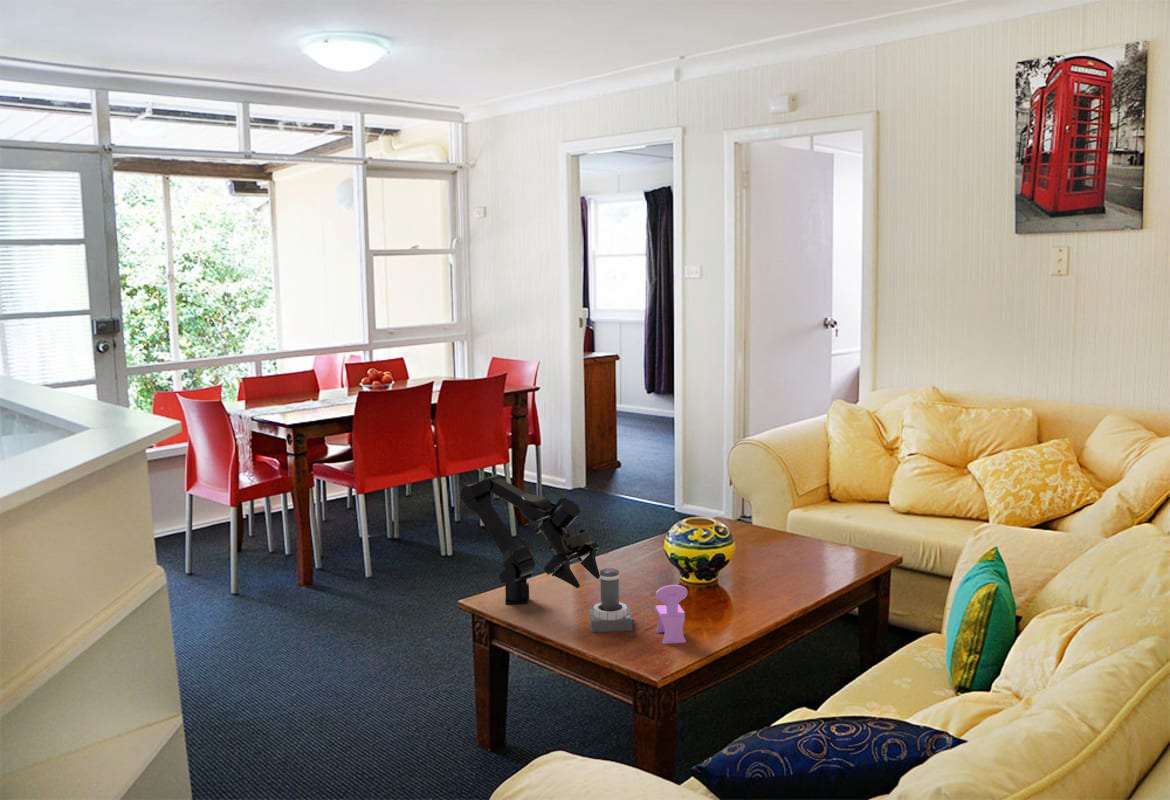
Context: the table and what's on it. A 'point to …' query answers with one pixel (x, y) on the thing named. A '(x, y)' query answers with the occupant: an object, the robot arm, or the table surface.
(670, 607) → the toy chair
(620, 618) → the ringed square flange
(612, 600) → the grey domed cylinder
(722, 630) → the table surface
